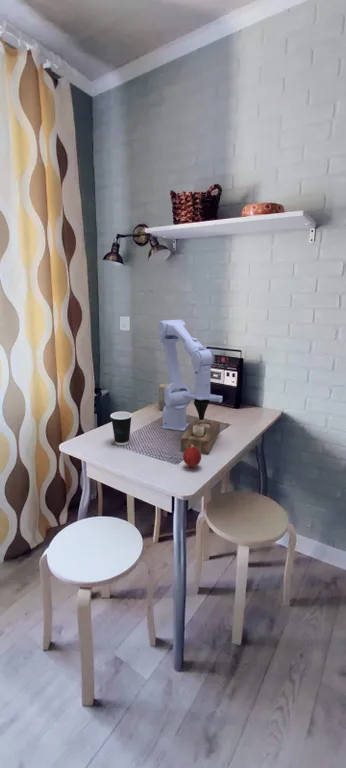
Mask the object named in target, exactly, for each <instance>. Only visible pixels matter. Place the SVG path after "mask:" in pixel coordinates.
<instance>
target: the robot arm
mask: <svg viewBox="0 0 346 768" xmlns="http://www.w3.org/2000/svg"><path fill="white" fill-rule="evenodd" d="M186 325H187V324H186V322H185V321H184V320H183V319H171V320H169V319H168V320H164V319H163V320H160V321H159V322H158V326H157V333H158V339H159V342H160V343H162V347H163V352H164V358H165V366H166V369H167V375H168V376H167V377H168V382H169V383H168V384H169V385H168V386H167V387H166V388H165V390H164V393H165V396H164V400H165V404H166V405H165V406H164V409H163V410H162V427H161V429H165V430H173V431H180V432H181V431H182V432H184V431H185V430H187V429H188V426H190V423H189V422H187V407H189V405H190V404H191V401H192V400H194V401H193V405H194V407H195V408H196V411H197V414H198V420H204V419H205V414H206V411H207V408H208V406H209V403H210V402H216V403H217V402H218V403H222V402H223V395H217V394H214V393H213V394H212V393H211V375H212V374H211V372H212V368H211V367H212V365H214V363H215V353H214V351H213V350H212V349H210V348H209V349H208V348H205V347H204V345H203V344H202V343H201V342H200V341H199V339H198V338H197V337H192V336H191V334H190V333H189V332H188V330H187V326H186ZM179 341H181V342H182V343H183V348H184V350H185V351H186V352H187V354H188V355H189V356H190V358H191V363H192V368H193V369H192V370H193V372H194V389H193V391H194V392H190V390H189V385H187V384H185V383H184V382H183V381H182V380H183V379H182V374H181V369H180V364H179V358H178V352H177V346H176V345H177V343H178V342H179ZM172 390H173V391H172ZM171 391H172V392H171Z"/></svg>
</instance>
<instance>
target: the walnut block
mask: <svg viewBox="0 0 346 768" xmlns="http://www.w3.org/2000/svg"><path fill="white" fill-rule="evenodd" d="M203 423H205V424H209V425H210V427H209V428H208V427H204V437H195V436H193V426H194V425H200V424H203ZM220 424H221V422H220V421H216V420H215V421H214V420H207V419H205V420H204V419H203V420H199V418H198V419H196V418H195V419H193V422H191V424H189V427H187V428H186V431H185V432H184V433H183V434H182V436H181V438H180V451H181V452H185V451H186V449H188V448H189V447H190V445H193V446H194V447H196V448H197V449H198V450H199V451H200V453H201V455H210V453H211V451H212V449H213V447H214V445H215V443H216V441H217V439H218V438H219V436H220V430H221V429H220V427H221V426H220Z"/></svg>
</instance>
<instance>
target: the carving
mask: <svg viewBox="0 0 346 768" xmlns="http://www.w3.org/2000/svg"><path fill="white" fill-rule="evenodd" d="M169 384H170V383H161V384H159V385H158V398H157V401H158V409H159V410H160V411H163V409H164V406H165V405H166V404H165V400H164V396H165V393H164V390H165V388H166V387H167V386H168V385H169ZM172 391H174V390H172ZM172 391H171V392H172Z"/></svg>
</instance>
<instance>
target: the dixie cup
mask: <svg viewBox="0 0 346 768" xmlns="http://www.w3.org/2000/svg"><path fill="white" fill-rule="evenodd" d="M132 416H133V414H132V413H131V412H128V411H116V412H112V413H111V414H110V416H109V417H110V419H111V424H112V430H113V431H112V432H113V436H114V437H113V438H114V441H115V445H117V446H127V445H128V444H129V441H130V439H131V438H130V436H131V425H132Z"/></svg>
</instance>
